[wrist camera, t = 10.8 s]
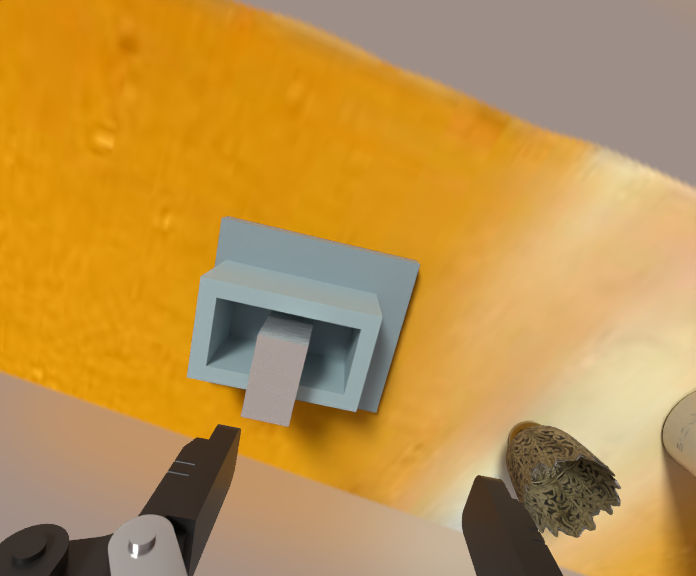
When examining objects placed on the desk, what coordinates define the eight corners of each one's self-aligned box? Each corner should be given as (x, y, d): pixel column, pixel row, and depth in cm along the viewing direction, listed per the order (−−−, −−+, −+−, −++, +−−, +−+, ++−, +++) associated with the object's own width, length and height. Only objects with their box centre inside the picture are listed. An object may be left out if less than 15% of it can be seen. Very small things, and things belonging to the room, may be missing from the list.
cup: (521, 478, 38) (565, 554, 30) (470, 437, 37) (504, 505, 29) (579, 430, 37) (642, 497, 29) (529, 386, 35) (580, 443, 28)
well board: (416, 260, 32) (435, 282, 25) (374, 403, 36) (381, 455, 29) (227, 216, 31) (194, 226, 24) (204, 367, 34) (170, 413, 28)
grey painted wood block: (317, 305, 31) (308, 346, 24) (301, 369, 33) (288, 426, 25) (279, 296, 31) (257, 334, 23) (265, 361, 33) (240, 416, 25)
